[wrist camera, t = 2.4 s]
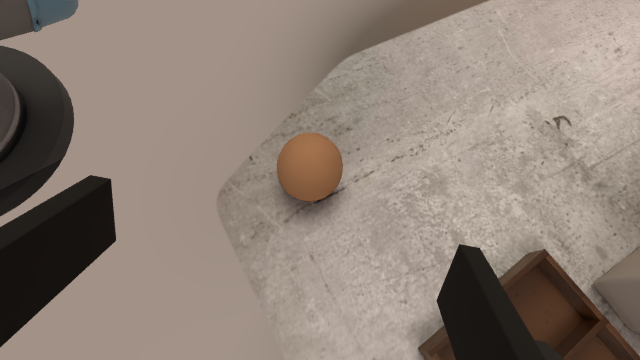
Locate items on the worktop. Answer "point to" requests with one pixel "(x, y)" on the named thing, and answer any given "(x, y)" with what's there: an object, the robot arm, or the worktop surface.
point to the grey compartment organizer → (623, 290)
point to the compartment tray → (550, 314)
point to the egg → (309, 167)
